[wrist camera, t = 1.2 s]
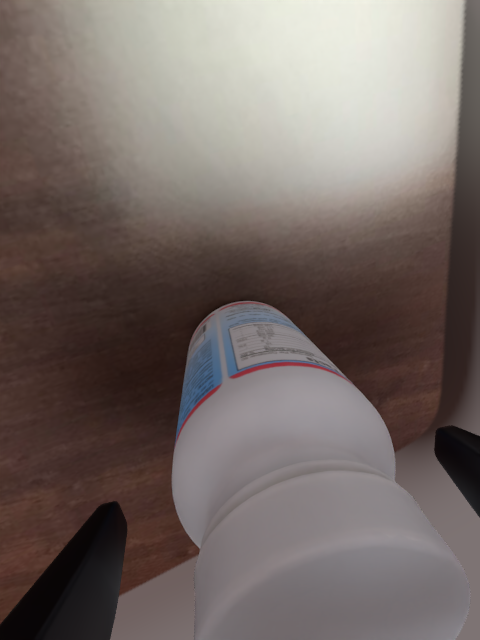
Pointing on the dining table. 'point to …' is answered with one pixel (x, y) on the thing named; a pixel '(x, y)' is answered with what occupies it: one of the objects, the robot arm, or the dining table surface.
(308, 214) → the dining table surface
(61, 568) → the robot arm
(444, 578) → the pill bottle
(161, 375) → the dining table surface
